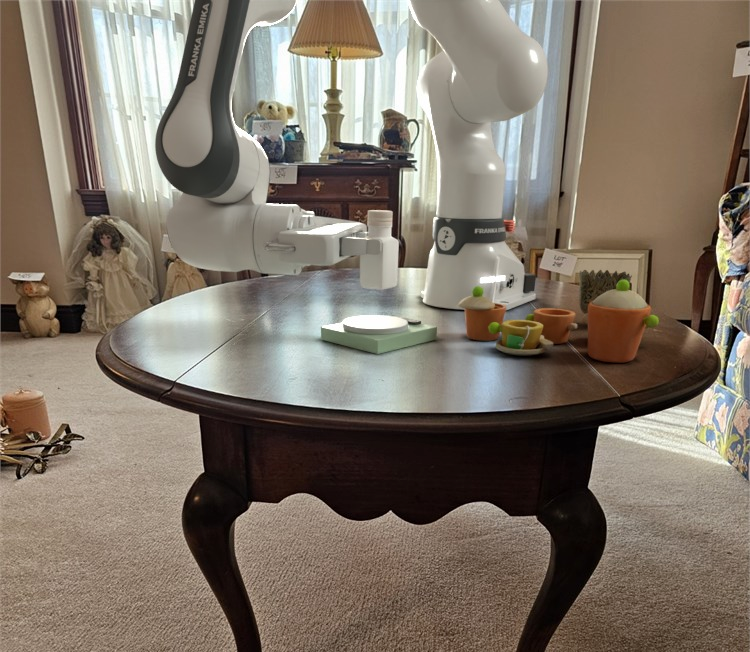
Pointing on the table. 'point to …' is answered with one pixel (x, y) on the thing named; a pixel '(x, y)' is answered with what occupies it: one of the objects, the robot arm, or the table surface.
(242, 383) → the table surface
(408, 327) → the scale
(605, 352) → the toy tea set
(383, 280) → the white square bottle
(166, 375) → the table surface
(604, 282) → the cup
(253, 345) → the table surface
